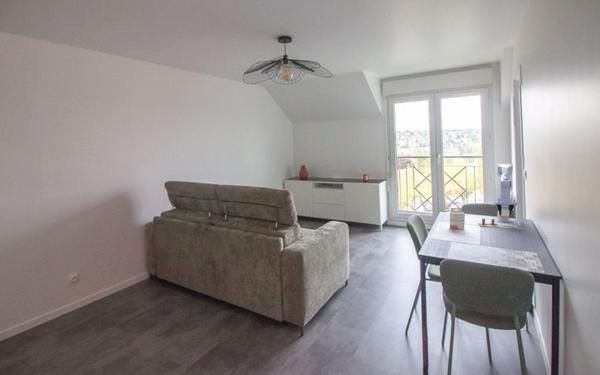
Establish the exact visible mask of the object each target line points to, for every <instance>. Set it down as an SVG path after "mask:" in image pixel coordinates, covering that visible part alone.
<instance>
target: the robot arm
mask: <svg viewBox="0 0 600 375" xmlns="http://www.w3.org/2000/svg"><path fill="white" fill-rule="evenodd" d="M513 167H514V164H512V163H498V164H497V176H499V177H500V184H499V185H500V196H499V197H497V199H496V201H495V202H494V201H493V206H496V209H498V210H497V218H495V220H497V222H504V223H506V222H507V223H508V222H512V221H511V220H510V216H511V214H512V212H513V210H514V209H515V206H516V207H517V206H518V202H513V200H512V198H511V188H512V186H513V185H512V179H511V176H512V174H513V171H514V170H513V169H514V168H513ZM501 210H509V218H502V217H500V215H501Z"/></svg>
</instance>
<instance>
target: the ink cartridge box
mask: <svg viewBox="0 0 600 375" xmlns="http://www.w3.org/2000/svg"><path fill="white" fill-rule="evenodd" d="M465 214H466V213H465V212H463V207H450V212H449V228H450V229H451V230H465V219H466V218H465V216H466V215H465Z"/></svg>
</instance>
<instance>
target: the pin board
mask: <svg viewBox="0 0 600 375" xmlns="http://www.w3.org/2000/svg"><path fill="white" fill-rule="evenodd" d="M481 220H482V221H481V222H477V225H478V226H479V227H480V228H500V226H498V225H497V224H496V223H497V222H495V218H492V219H491V222H486V218H482V219H481Z"/></svg>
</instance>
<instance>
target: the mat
mask: <svg viewBox="0 0 600 375" xmlns="http://www.w3.org/2000/svg"><path fill="white" fill-rule="evenodd" d="M495 223H496V224H497V225H498V226H499V227H513V225H512V224H511V223H508V222H507V223H506V222H504V223H503V222H495Z"/></svg>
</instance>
